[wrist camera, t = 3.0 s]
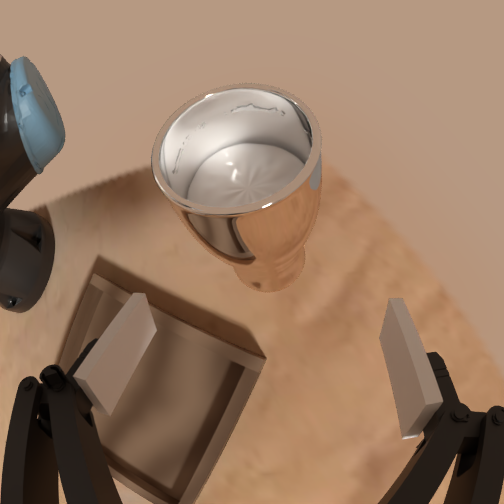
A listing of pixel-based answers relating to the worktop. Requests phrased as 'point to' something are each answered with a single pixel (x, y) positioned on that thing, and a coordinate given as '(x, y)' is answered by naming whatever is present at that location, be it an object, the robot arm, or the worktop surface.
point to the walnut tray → (166, 399)
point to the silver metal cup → (244, 178)
